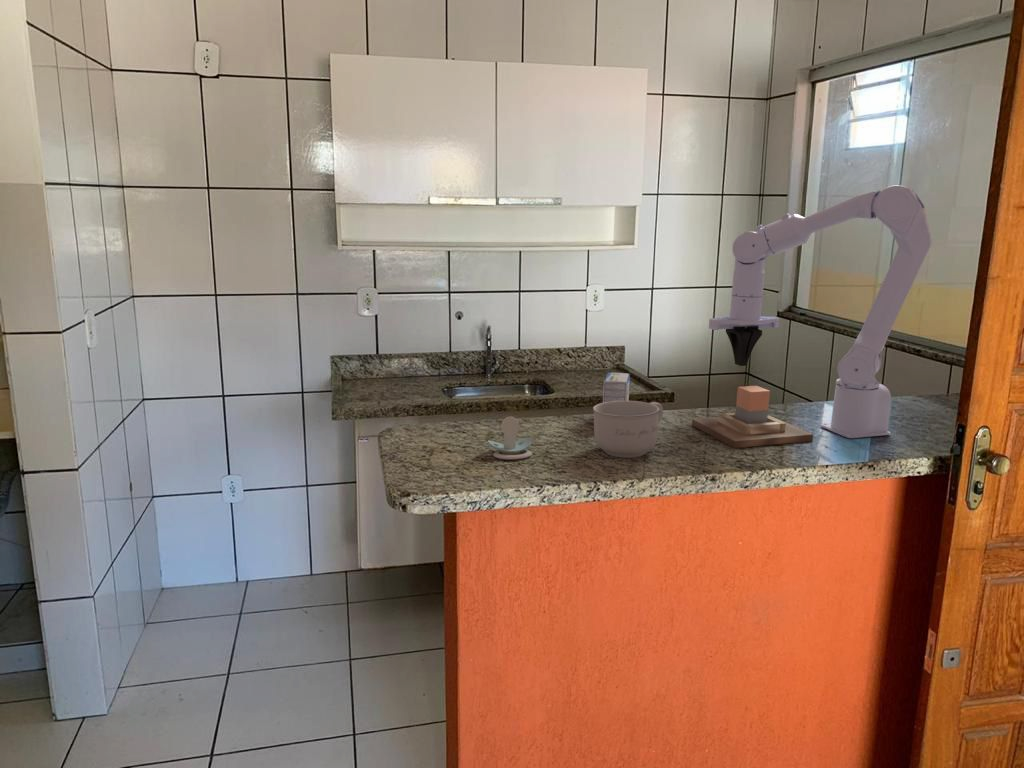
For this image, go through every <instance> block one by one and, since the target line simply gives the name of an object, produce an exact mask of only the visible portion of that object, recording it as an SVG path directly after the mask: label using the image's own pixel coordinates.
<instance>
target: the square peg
mask: <svg viewBox="0 0 1024 768" xmlns="http://www.w3.org/2000/svg"><path fill="white" fill-rule="evenodd" d="M736 393H737V394H736V405H735V412H734V413H735V419H737V420H739V421H742V422H744V423H746V424H757V423H767V417H768V415H769V406H770V397H771V390H769V389H767V388H763V387H762V386H758V385H747V386H737V392H736Z"/></svg>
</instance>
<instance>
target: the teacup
mask: <svg viewBox="0 0 1024 768" xmlns="http://www.w3.org/2000/svg"><path fill="white" fill-rule="evenodd" d="M592 412H593V433H594V440H595V443H596V445H597V446H598V447H599V448H600V449H601V450H603V451H604V453H606V454H607V455H609V456H612V457H615V458H622V459H624V458H629V459H630V458H638V457H641V456H644V455H646V454H647V453H648V452H649V451H651V449H653V448H654V447H655V445H656V444H657V440H658V435H659V425H660V423H661V421H662V419H663V417H664V409H663V406H662V404H661V403H660V402H657V401H651V402H645V401H639V400H638V401H637V400H629V401H610V402H604V403H603V402H601V403H598V404H596V405H594V406H593V407H592Z"/></svg>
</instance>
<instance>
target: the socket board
mask: <svg viewBox="0 0 1024 768" xmlns="http://www.w3.org/2000/svg"><path fill="white" fill-rule="evenodd" d="M735 413H736V412H727V413H718V416H713V417H712V416H711V417H699V418H692V419H691V425H692V426H693V427H694V428H697V429H698V430H700V431H701V432H704V433H705V434H708V435H709V436H711V437H713V438H716V439H717V440H719V441H721V442H723V443H724V444H726V445H729V446H730V447H732V448H733V449H736V448H739V449H740V448H748V447H758V446H759V447H760V446H770V445H772V446H773V445H781V444H782V445H783V444H792V443H805V442H813V439H814V434H813V433H811V432H809V431H806V430H804V429H802V428H800V427H797V426H795V425H793V424H791V423H788V422H785V421H783V420H781V419H779V418H777V417H775V416H773V415H770V414H768V417H767V423H757V424H746V423H744V422H742V421H739V420H737V419H735Z"/></svg>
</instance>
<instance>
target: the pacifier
mask: <svg viewBox="0 0 1024 768" xmlns="http://www.w3.org/2000/svg"><path fill="white" fill-rule="evenodd" d="M500 425H501V426H500V427H501V431H502V433H503V443H502V442H501V443H500V442H497V441H493V440H487V443H488V444H489V445H490V446H491V447H492V448H493V449H496V450H497V451H495V452H494V453H493V457H495V458H497V459H500V460H521V459H526V458H529V457H531V456H532V455H533V453H532V451H530V450H528V448H529V447H530V446H531V445H532V443H533V442H532V441H533V440H532V438H531V437H523V438H520V439H518V440H517V434H518V433H519V430H520V423H519V421H518V419H517V418H516V417H515V416H506V417H505V418H504V419H503V420H502V422H501V424H500Z"/></svg>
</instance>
